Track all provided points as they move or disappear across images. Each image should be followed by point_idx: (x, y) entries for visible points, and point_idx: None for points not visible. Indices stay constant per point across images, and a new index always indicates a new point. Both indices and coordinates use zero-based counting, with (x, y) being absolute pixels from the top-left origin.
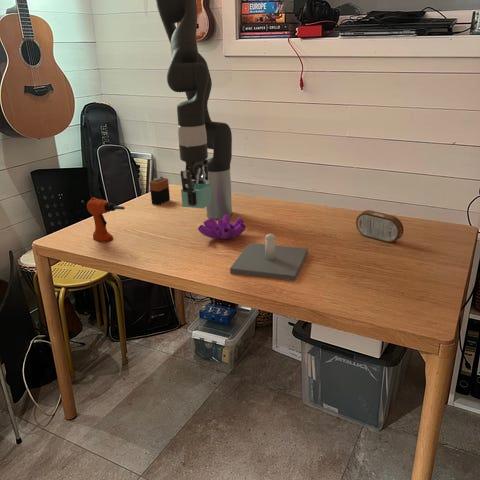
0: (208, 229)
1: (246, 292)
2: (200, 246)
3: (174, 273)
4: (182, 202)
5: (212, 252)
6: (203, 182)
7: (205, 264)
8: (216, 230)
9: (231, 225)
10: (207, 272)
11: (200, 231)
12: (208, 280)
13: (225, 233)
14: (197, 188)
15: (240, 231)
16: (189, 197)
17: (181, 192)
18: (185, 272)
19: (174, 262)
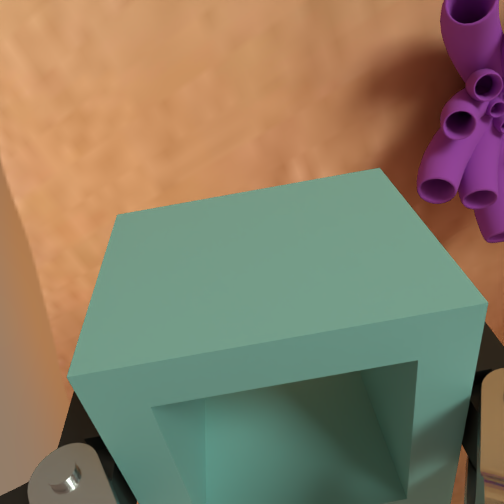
0: (475, 47)
1: (64, 383)
2: (349, 33)
3: (2, 96)
4: (111, 246)
5: (297, 137)
6: (466, 476)
7: (167, 176)
8: (442, 124)
9: (494, 192)
10: (106, 223)
11: (442, 6)
12: (52, 259)
13: (417, 183)
14: (389, 370)
15: (476, 218)
16: (78, 416)
17: (79, 342)
18: (47, 139)
19: (102, 13)
